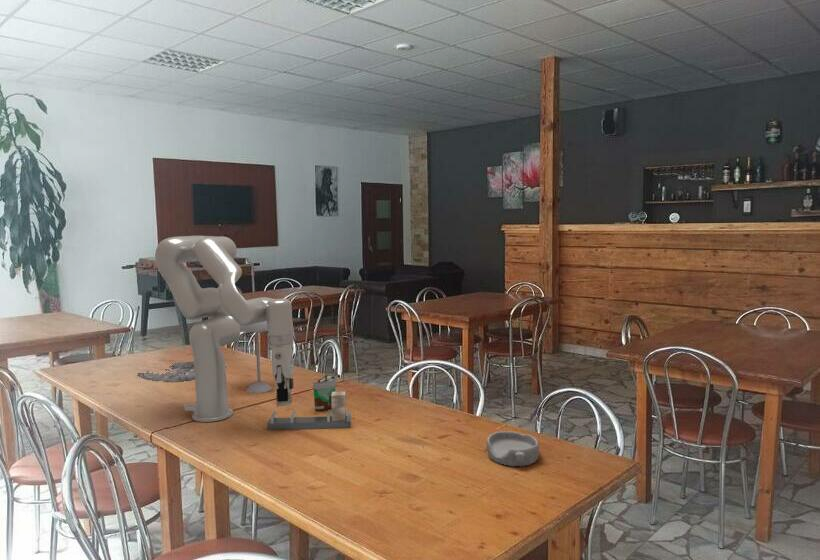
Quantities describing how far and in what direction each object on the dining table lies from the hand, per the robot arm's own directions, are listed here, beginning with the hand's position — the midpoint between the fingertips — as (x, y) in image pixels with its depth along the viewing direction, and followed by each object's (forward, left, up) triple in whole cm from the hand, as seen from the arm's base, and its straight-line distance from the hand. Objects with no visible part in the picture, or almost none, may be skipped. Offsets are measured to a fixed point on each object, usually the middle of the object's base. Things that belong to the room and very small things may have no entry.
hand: (284, 398), depth 182 cm
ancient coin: (-55, +72, -9) cm, 92 cm away
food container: (+12, +18, -9) cm, 23 cm away
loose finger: (0, 0, -2) cm, 2 cm away
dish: (+65, -28, -9) cm, 71 cm away
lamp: (-16, +41, -9) cm, 45 cm away
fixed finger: (+16, 0, -7) cm, 18 cm away
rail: (+8, 0, -9) cm, 12 cm away
